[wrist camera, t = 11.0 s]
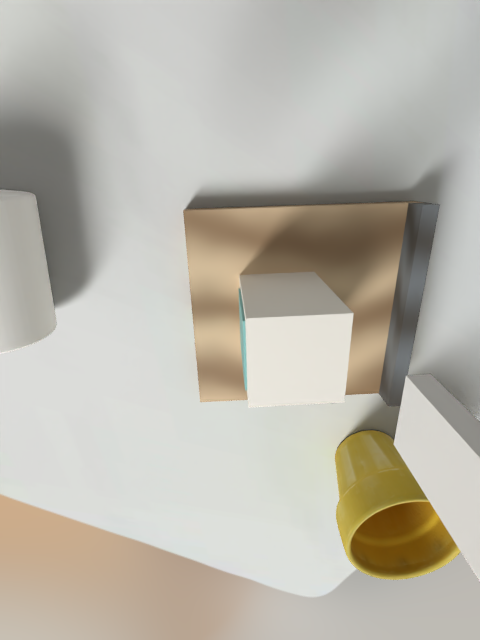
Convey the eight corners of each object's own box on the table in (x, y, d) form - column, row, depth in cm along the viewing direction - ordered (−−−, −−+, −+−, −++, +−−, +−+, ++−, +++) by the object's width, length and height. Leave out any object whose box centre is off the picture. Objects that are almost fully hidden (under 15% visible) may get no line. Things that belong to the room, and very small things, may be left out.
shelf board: (185, 208, 26) (180, 213, 23) (415, 201, 27) (442, 204, 24) (201, 392, 33) (198, 416, 30) (386, 383, 34) (403, 405, 30)
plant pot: (323, 496, 39) (352, 591, 30) (310, 427, 35) (339, 513, 26) (413, 478, 39) (470, 569, 30) (409, 406, 35) (474, 486, 26)
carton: (240, 342, 29) (246, 407, 21) (237, 275, 27) (243, 318, 19) (312, 338, 30) (346, 402, 21) (316, 271, 27) (356, 313, 19)
